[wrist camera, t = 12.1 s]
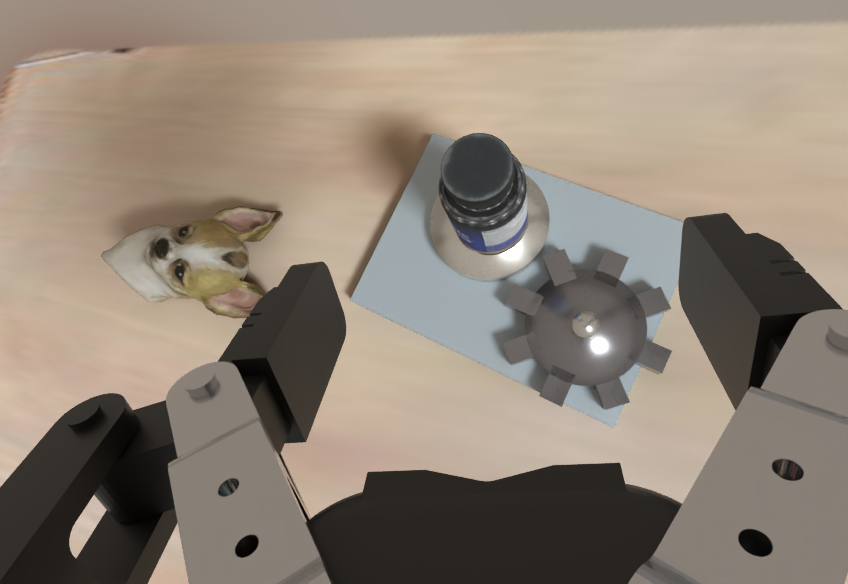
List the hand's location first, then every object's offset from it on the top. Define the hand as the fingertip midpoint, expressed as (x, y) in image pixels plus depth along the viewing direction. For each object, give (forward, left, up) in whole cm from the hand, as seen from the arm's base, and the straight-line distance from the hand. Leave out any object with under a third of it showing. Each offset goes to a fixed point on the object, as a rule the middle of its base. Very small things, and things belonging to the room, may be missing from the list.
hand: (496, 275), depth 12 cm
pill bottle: (+8, -9, -30) cm, 32 cm away
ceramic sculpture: (+31, +4, -33) cm, 45 cm away
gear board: (+4, -7, -33) cm, 34 cm away
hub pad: (+8, -9, -31) cm, 33 cm away
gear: (-3, -4, -31) cm, 32 cm away
